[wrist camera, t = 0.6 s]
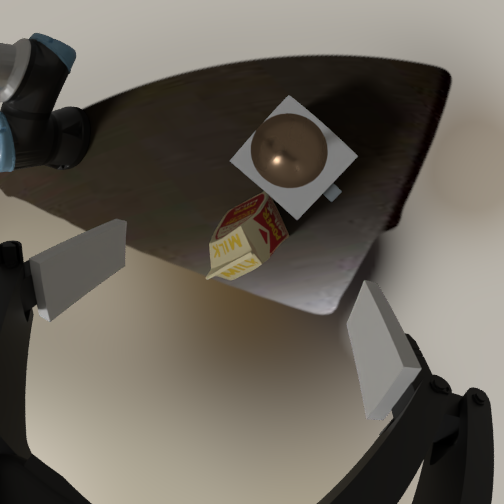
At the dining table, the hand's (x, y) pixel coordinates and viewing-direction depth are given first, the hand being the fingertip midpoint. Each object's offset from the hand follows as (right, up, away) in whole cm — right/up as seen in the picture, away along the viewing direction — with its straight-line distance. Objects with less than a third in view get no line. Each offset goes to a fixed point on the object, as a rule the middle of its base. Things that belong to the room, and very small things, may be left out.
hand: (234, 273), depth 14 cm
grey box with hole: (+8, +17, +31) cm, 36 cm away
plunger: (+7, +14, +22) cm, 27 cm away
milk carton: (+2, +6, +36) cm, 36 cm away
